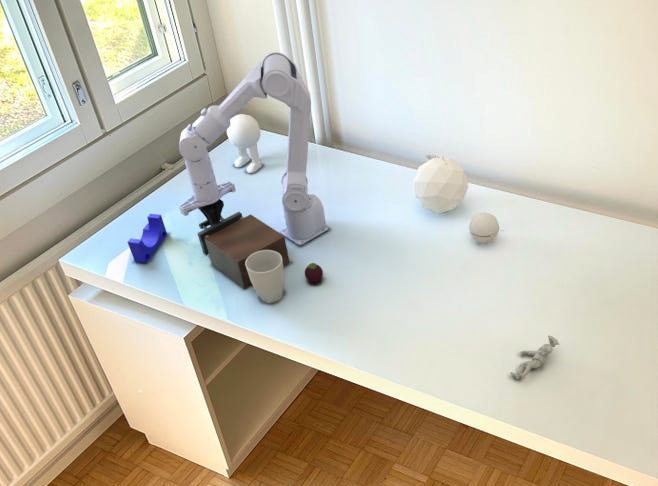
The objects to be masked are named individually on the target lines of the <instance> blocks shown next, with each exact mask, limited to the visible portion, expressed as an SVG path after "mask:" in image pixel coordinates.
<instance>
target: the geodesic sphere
mask: <svg viewBox="0 0 658 486" xmlns="http://www.w3.org/2000/svg"><path fill="white" fill-rule="evenodd" d="M425 157H426V158H427V159H428V161H426V162H425V163H423V164H421V165H420V166H418V167H417V171H416V173H415V176H414V179H413V182H412V185H413V192H414V193H413V194H414V196H415V197H416V199H417V200H418V202H419V203H420V204H421V206H422V207H423V208H424V209H426V210H429V211H431V212H434V213H436V214H441V213H445V212H449V211H452V210H454V209H455V208H457V207H458V206H460V205H461V204H462V203H463V202H464V199H465V197H466V194H467V191H468V189H469V183H468V178H467V174H466V172H465V171H464V168H463V167H461V165H460V164H459V163H458V161H456V160H453V159H451V158H449V157H446V156H444V155H442V156H436V155H434V154H428V155H425Z"/></svg>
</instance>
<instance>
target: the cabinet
mask: <svg viewBox="0 0 658 486" xmlns="http://www.w3.org/2000/svg"><path fill="white" fill-rule="evenodd" d="M243 217H244V218H243V219H241V220H239V221H237V222H235V223H233V224H231V225H229V226H227V227H225V228H224V229H222V230H220V231H218V232H216V233H214V234H212V235H210V236H208V237H206V238H205V242H206V246H207V249H208V252H209V254H208V255H209V259H210V262H211V266H213V267H214V268H215V269H216V270H218V271H220V272H221V274H223V275H225V276H226V277H228V278H229V279H230V280H232V281H233V282H234V283H236V284H237V285H238V286H240V287H241V288H242V289H244V290H246V289H247V288H249V287H251V286H253V284H252V282H251V280H250V277H249V274H248V271H247V268H246V265H245V262H246V259H247V258H248V257H249V256H250V255H251V254H253V253H255V252H258V251H262V250H272V251H276V252H278V253H279V254H280V255H281V256H282V261H283V267H285V266H287V265H288V264H290V258H289V253H288V247H287V242H286V237H285V236H284V235H282V234H281V232H279V231H277V230H276V229H275V228H273V227H271V226H270V225H268V224H266V223H265V222H263V221H261V220H260V219H259V218H257V217H255V216H254V215H252V214H248V215H246V216H243Z"/></svg>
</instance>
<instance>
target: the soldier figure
mask: <svg viewBox="0 0 658 486" xmlns="http://www.w3.org/2000/svg"><path fill="white" fill-rule="evenodd" d="M547 338H548V343H544V344H543V345H542V346H540V347H539V348H538V349H537V350H535V351H528V350H522V351H520V352H519V353H520V354H522V356H524V355H526V354H527V356H528V355H529V356H533V357H532V359H531V360H527V361H523V362H521V363H520V365H518V370H517V371H516V373H514V372H513V371H511V372H510V375H511V376H512V377H513V378H515V379H516V380H520V378H521V379H522V380H525V379H526V377H527V375H528V374H529V373H530V371H531V369H538V368H540V367H541V366H543V364H544V362H545V359H546V358H547V357H548V356H549V355H551V354H552V352H553V350H554V348H555V347H556V346H560V343H559V341H558V339H556V338H555V337H553V336H551V335H547Z"/></svg>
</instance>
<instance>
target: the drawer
mask: <svg viewBox="0 0 658 486" xmlns="http://www.w3.org/2000/svg"><path fill="white" fill-rule="evenodd" d="M242 213H243V212H240V211H238V212H235V213H233V214H231V215H230V216H227V217H226V218H224V217H223V215H221V217H220V222H218V223H216V224H214V225H212V226H211V225H210V223H209V222H208V220H207V219H206V220H204V221H202V222H200V223H198V227H199V229H201V231H198V232H197V233H196V234H197V237H198V240H199V244H200V248H201V250H202V254H203V255H204V256H208V255H209V252H208V249H207V246H206V242H205V238H206V237H208V236H210V235H212V234H214V233H216V232H218V231H220V230H222V229H224V228H225V227H227V226H229V225H231V224H233V223H235V222H237V221H239V220H241V219H243V218H244V217H245V216H243V214H242Z"/></svg>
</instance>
